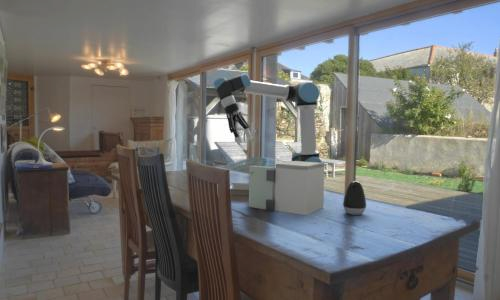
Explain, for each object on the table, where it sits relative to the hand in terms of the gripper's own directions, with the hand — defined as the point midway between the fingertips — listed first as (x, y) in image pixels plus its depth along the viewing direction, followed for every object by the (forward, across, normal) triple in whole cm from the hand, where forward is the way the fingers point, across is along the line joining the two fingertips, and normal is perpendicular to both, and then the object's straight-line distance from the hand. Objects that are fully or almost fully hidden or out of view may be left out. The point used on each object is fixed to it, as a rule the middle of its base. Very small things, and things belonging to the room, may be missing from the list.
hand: (245, 141), depth 211 cm
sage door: (+34, +23, +4) cm, 41 cm away
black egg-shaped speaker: (+52, +15, +43) cm, 69 cm away
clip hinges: (+36, +24, +10) cm, 44 cm away
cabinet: (+41, +17, +20) cm, 49 cm away
